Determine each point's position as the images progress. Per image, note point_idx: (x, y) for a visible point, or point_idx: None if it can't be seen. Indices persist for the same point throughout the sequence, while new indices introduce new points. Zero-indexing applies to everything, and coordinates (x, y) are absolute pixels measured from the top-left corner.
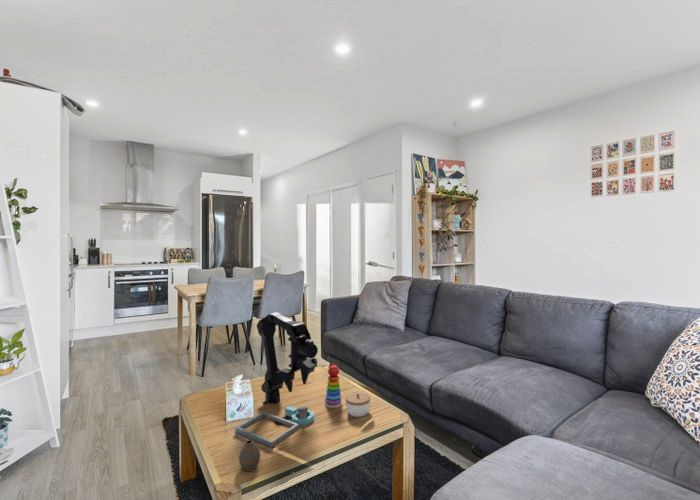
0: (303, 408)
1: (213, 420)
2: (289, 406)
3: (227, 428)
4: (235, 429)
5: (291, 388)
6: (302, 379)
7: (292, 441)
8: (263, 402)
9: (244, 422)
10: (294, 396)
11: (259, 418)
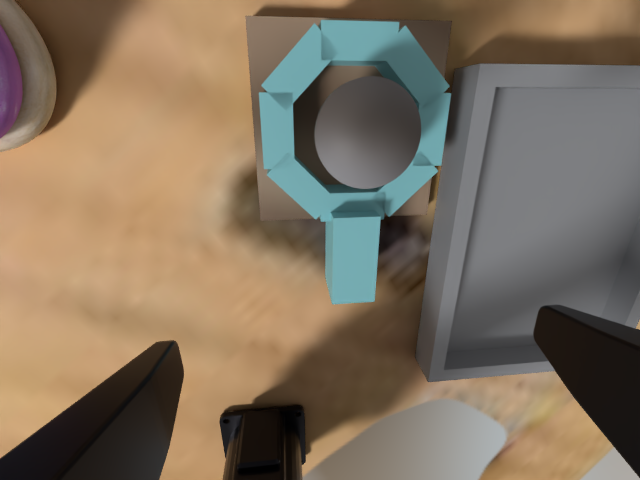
0: (360, 132)
1: (521, 476)
2: (336, 294)
3: (559, 398)
4: None
5: (637, 336)
6: (158, 464)
7: (591, 5)
8: (304, 460)
9: None
10: None
11: (467, 354)
